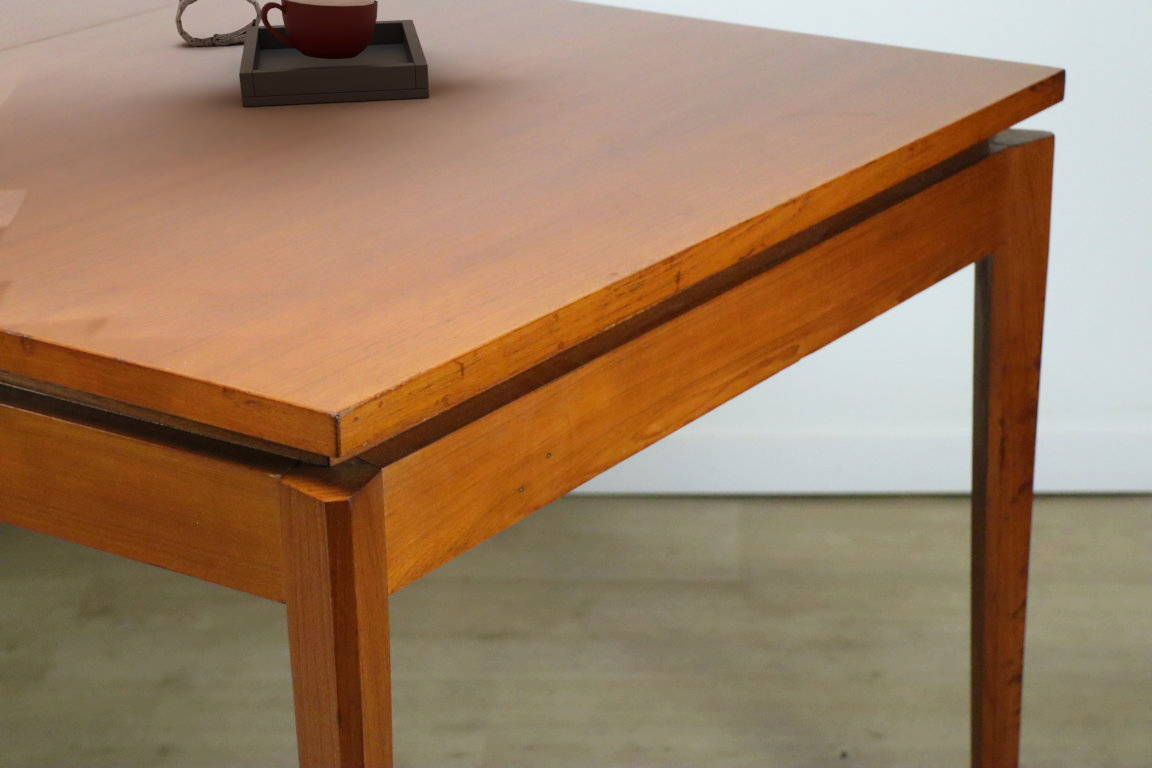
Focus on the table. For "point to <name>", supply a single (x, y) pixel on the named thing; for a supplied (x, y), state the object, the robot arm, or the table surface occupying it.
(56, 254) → the table surface
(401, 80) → the dark rectangular tray
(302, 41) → the cocoa
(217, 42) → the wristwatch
